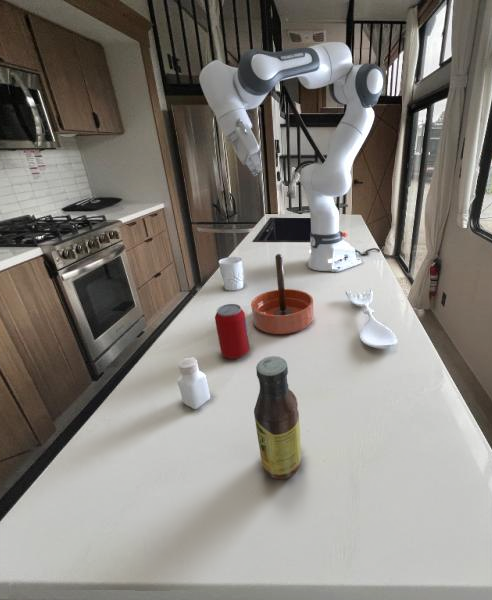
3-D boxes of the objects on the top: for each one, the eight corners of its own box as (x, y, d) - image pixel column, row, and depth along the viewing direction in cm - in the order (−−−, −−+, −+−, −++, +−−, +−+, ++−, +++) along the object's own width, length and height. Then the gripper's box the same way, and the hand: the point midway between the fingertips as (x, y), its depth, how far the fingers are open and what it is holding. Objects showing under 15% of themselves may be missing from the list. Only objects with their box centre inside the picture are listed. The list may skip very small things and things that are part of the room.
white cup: (248, 282, 119) (244, 256, 115) (241, 291, 112) (237, 264, 108) (227, 282, 120) (223, 256, 115) (219, 291, 113) (214, 264, 108)
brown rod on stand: (287, 311, 96) (283, 250, 88) (295, 318, 92) (291, 254, 84) (271, 316, 94) (265, 253, 85) (279, 324, 90) (273, 258, 81)
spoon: (371, 296, 106) (372, 287, 104) (401, 353, 77) (403, 341, 76) (344, 298, 105) (344, 288, 104) (364, 356, 77) (365, 343, 75)
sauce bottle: (263, 448, 54) (249, 349, 45) (301, 445, 54) (294, 346, 46) (260, 486, 48) (243, 380, 39) (302, 482, 48) (295, 376, 40)
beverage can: (254, 347, 81) (249, 304, 76) (240, 363, 75) (233, 318, 70) (231, 343, 83) (224, 301, 78) (215, 358, 77) (207, 313, 72)
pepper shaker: (195, 411, 62) (185, 371, 58) (182, 403, 64) (171, 364, 60) (212, 398, 65) (203, 359, 61) (198, 391, 67) (189, 353, 63)
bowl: (296, 301, 104) (295, 284, 101) (325, 324, 91) (324, 304, 88) (244, 316, 96) (242, 298, 93) (268, 343, 83) (266, 322, 80)
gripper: (249, 111, 85) (272, 163, 90) (243, 131, 104) (262, 173, 109) (227, 120, 84) (252, 172, 89) (225, 138, 103) (246, 181, 108)
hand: (258, 173), depth 99 cm, fingers open, 8 cm apart
